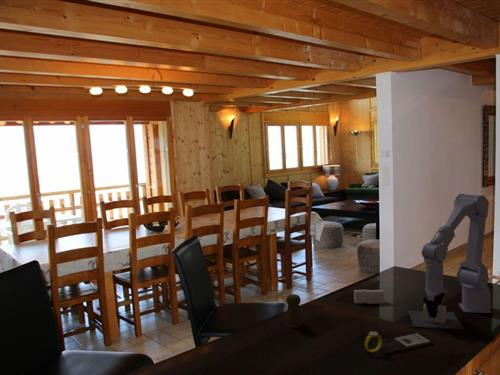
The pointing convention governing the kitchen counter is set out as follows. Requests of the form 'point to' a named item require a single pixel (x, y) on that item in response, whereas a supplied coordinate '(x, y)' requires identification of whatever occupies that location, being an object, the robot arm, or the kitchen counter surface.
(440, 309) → the card box
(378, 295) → the napkin holder
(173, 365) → the kitchen counter surface
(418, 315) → the rubber mat
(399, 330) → the kitchen counter surface
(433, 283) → the robot arm
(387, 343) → the chocolate bar
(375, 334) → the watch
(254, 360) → the kitchen counter surface
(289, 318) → the cork
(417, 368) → the kitchen counter surface
